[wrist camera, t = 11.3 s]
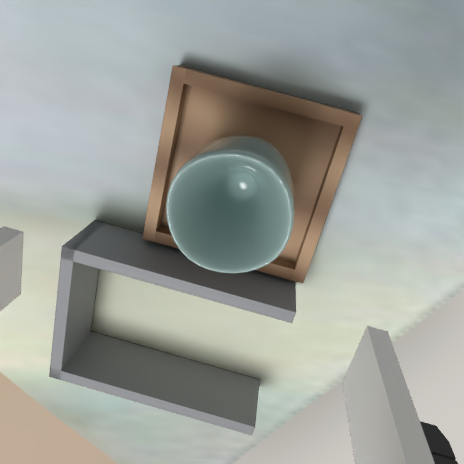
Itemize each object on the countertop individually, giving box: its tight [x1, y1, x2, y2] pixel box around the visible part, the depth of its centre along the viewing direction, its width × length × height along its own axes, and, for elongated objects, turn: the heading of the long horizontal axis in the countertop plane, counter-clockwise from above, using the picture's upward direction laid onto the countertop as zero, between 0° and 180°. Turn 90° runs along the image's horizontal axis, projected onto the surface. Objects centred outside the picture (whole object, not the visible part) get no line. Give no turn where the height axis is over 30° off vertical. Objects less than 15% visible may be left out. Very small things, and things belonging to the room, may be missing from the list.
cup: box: [166, 135, 295, 273], centre depth 30 cm, size 8×8×10 cm
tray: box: [142, 65, 362, 283], centre depth 34 cm, size 14×14×2 cm
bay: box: [49, 220, 296, 435], centre depth 38 cm, size 13×18×6 cm
